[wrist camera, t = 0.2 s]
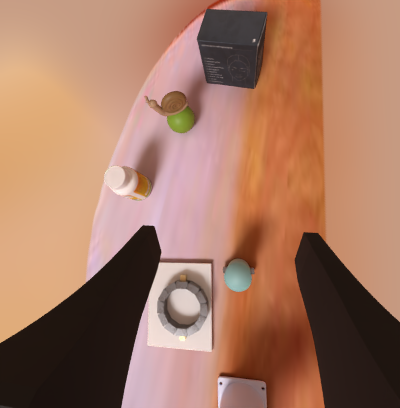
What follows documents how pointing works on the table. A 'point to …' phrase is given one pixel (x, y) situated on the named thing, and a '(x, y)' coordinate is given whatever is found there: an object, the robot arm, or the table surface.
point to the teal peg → (238, 275)
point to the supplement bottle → (127, 182)
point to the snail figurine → (175, 111)
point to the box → (232, 46)
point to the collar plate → (181, 307)
